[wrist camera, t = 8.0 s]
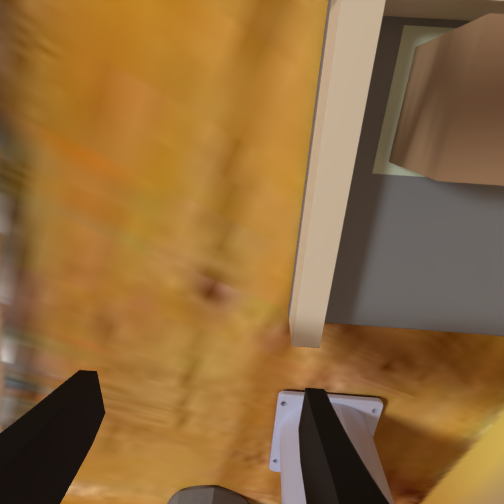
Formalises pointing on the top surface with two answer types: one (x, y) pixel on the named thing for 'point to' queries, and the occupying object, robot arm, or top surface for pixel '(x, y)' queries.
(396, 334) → the top surface
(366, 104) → the grey corner tray
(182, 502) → the coffeepot
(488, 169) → the walnut cube
